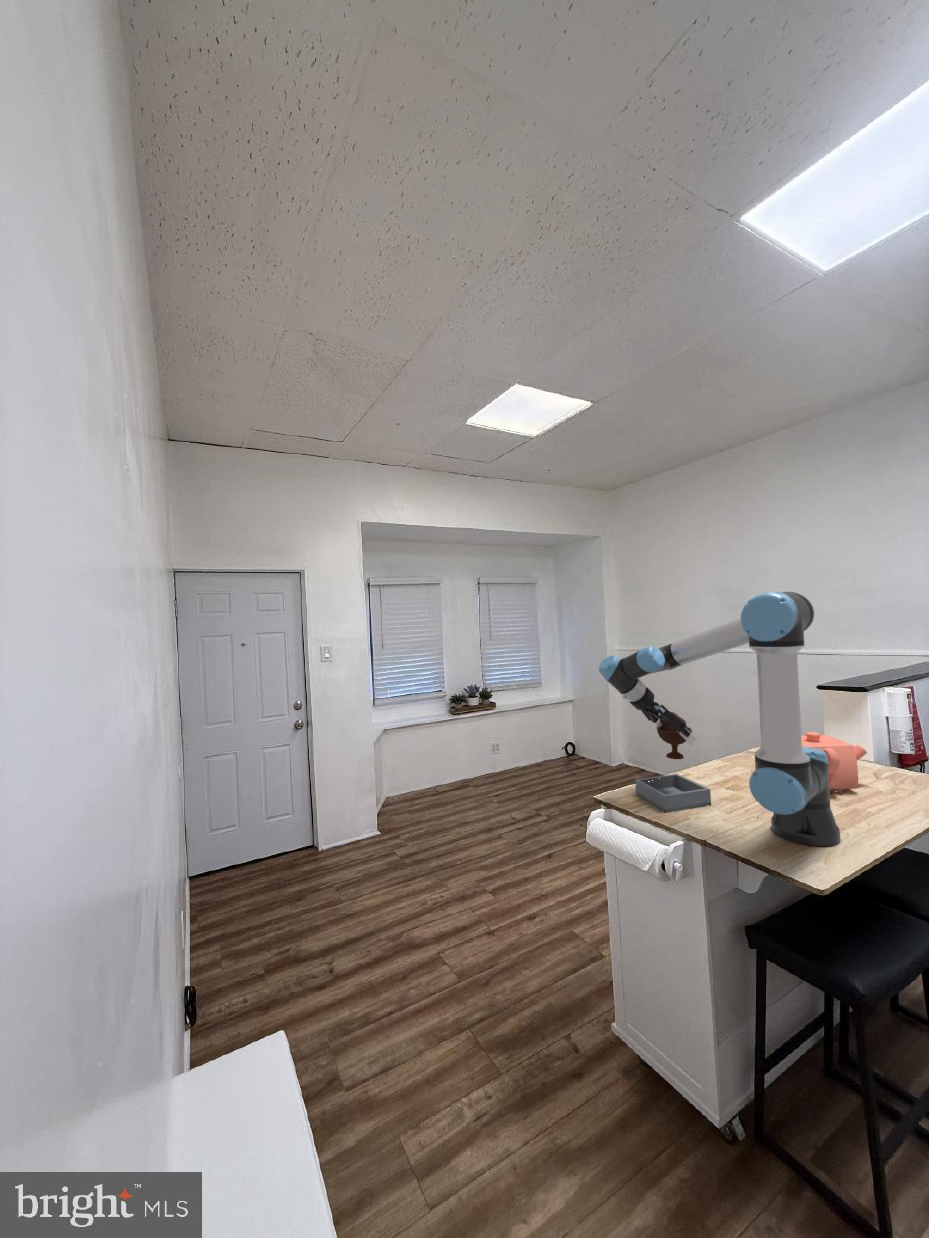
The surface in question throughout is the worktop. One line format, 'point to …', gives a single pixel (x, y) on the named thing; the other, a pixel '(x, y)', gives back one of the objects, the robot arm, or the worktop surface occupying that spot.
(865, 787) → the worktop surface
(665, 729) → the ice cream bowl
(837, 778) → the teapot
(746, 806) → the worktop surface
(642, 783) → the tray
